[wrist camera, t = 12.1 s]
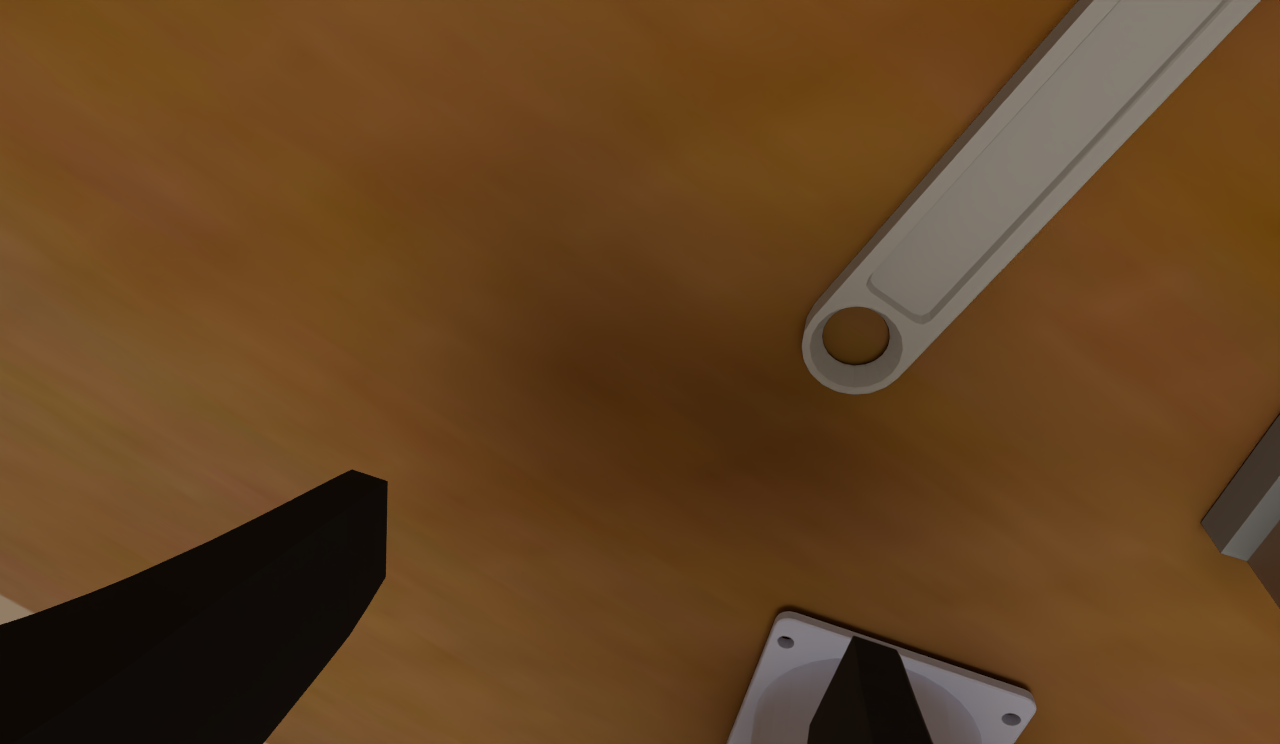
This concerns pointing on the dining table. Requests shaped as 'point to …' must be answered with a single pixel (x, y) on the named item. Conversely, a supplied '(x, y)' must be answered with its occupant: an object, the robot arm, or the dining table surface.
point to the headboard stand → (1252, 513)
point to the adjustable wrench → (1014, 172)
